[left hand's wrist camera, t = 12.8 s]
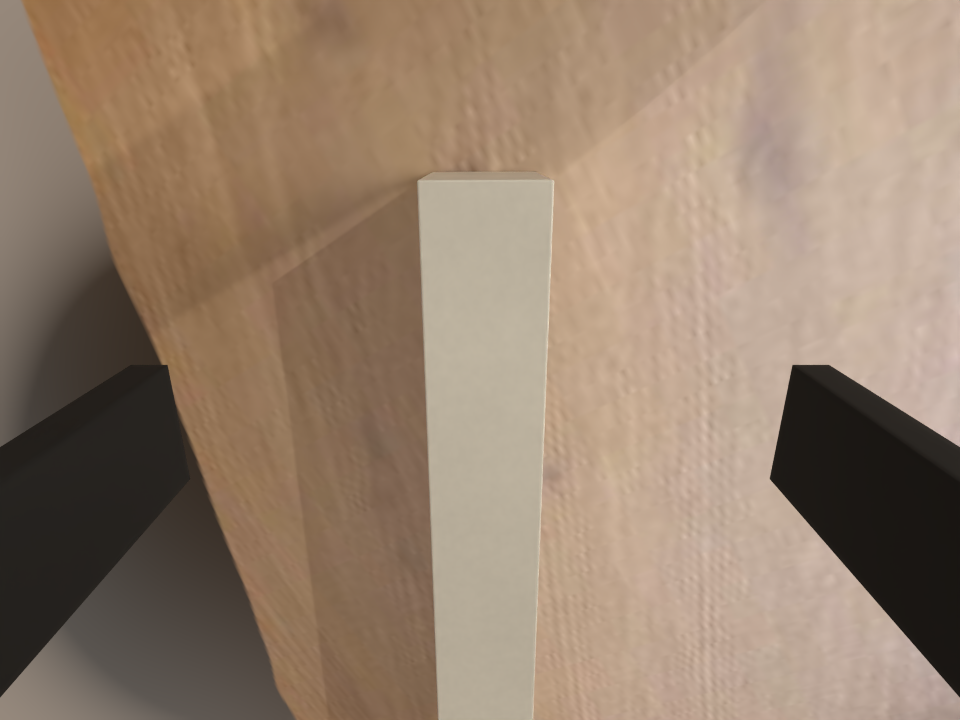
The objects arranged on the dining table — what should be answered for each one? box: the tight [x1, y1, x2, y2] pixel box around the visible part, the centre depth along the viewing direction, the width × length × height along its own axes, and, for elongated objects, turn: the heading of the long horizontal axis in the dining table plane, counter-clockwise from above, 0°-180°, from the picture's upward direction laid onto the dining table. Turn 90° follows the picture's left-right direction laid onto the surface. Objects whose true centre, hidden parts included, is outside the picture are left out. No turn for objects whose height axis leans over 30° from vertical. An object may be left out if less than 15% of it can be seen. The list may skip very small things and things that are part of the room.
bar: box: [417, 172, 554, 720], centre depth 38 cm, size 61×6×8 cm, turn 0°
